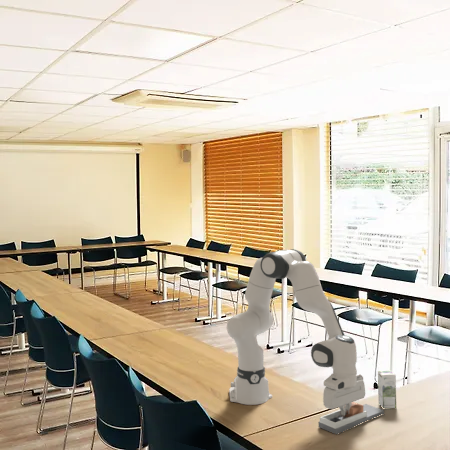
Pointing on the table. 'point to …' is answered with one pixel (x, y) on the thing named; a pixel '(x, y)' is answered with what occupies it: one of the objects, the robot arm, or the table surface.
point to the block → (354, 409)
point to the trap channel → (347, 419)
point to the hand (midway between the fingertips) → (345, 414)
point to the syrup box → (387, 389)
